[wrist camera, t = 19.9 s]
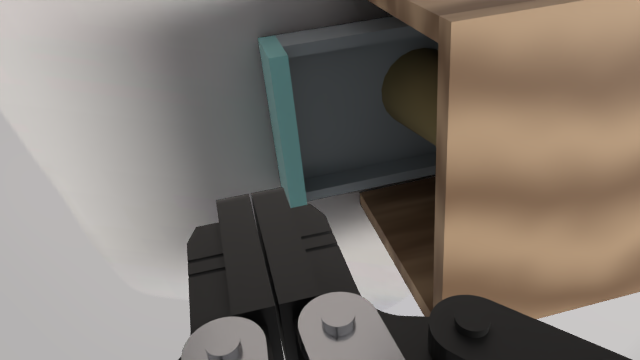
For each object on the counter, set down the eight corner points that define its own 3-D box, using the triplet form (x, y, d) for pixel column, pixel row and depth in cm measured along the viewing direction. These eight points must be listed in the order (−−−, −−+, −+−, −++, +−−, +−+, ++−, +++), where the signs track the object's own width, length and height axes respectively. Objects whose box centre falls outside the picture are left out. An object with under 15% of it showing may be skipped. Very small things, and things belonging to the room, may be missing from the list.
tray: (257, 37, 36) (268, 58, 32) (487, 1, 38) (526, 15, 34) (281, 186, 42) (292, 219, 38) (478, 145, 44) (509, 173, 40)
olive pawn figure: (390, 135, 41) (453, 209, 31) (373, 64, 38) (438, 122, 28) (460, 108, 41) (543, 174, 32) (450, 36, 38) (539, 85, 29)
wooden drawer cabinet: (344, -32, 35) (451, 22, 21) (532, -59, 37) (738, -26, 24) (360, 204, 45) (440, 344, 31) (508, 172, 47) (643, 290, 33)
